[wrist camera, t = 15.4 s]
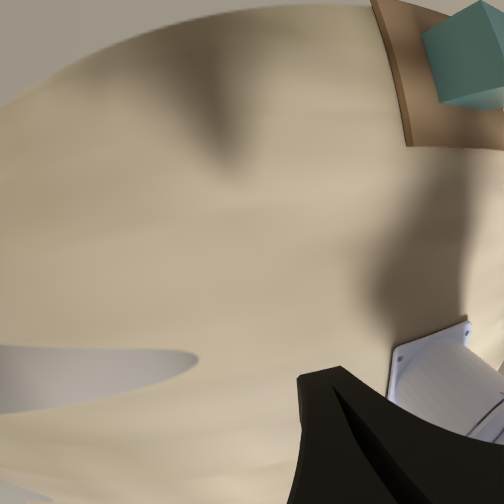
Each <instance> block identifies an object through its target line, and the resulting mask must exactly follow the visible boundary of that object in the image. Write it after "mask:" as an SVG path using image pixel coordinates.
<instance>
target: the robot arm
mask: <svg viewBox="0 0 504 504" xmlns="http://www.w3.org/2000/svg"><path fill="white" fill-rule="evenodd" d="M471 327H472V323H471V322H470V321H465V322H462V323H460V324H457V325H455V326H453V327H450V328H447V329H445V330H442V331H440V332H437V333H434V334H432V335H429V336H426V337H423V338H421V339H418V340H415V341H412V342H409V343H406V344H403V345H400V346H398V347H396V348H395V350H394V352H393V359H392V368H391V376H390V383H389V390H388V396H387V398H385V397H384V396H382V395H381V394H379V393H378V392H376V391H375V390H373V389H372V388H370V387H369V386H368V385H366V384H365V383H363V382H362V381H361V380H359V379H358V378H357V377H355V376H354V375H353V374H351V373H350V372H349V371H347V370H346V369H345V368H343V367H342V366H337V367H333V368H329V369H324V370H320V371H316V372H311V373H307V374H302V375H300V376H299V377H298V378H297V390H298V402H299V415H300V423H301V427H302V433H301V441H300V449H299V456H298V462H297V467H296V471H295V476H294V480H293V484H292V488H291V491H290V495H289V498H288V501H287V504H504V377H503V376H502V375H501V374H499V373H498V372H497V371H496V370H495V369H494V368H492V367H491V366H490V365H489V364H487V363H486V362H485V361H484V360H482V359H481V358H480V357H478V356H477V355H476V354H475V353H473V352H472V351H471V350H470V349H468V348H467V346H468V342H469V337H470V332H471ZM400 356H401V357H400ZM399 357H400V358H399ZM398 358H399V359H398Z"/></svg>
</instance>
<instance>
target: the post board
mask: <svg viewBox="0 0 504 504" xmlns="http://www.w3.org/2000/svg"><path fill="white" fill-rule="evenodd" d="M370 2H371V4H372V7H373V10H374V13H375V15H376V18H377V21H378V24H379V27H380V30H381V33H382V37H383V40H384V43H385V47H386V50H387V54H388V57H389V61H390V65H391V69H392V72H393V77H394V81H395V85H396V90H397V94H398V99H399V104H400V109H401V114H402V120H403V126H404V132H405V138H406V145H407V147H457V148H476V149H490V150H501V151H504V111H503V108H500V109H493V110H488V111H483V110H478V109H473V108H467V107H461V106H455V105H449V104H442V103H439V99H438V94H437V90H436V86H435V81H434V77H433V74H432V70H431V66H430V63H429V59H428V56H427V52H426V49H425V46H424V43H423V40H422V37H421V35H422V34H423V33H425V32H426V31H428V30H430V29H431V28H433V27H434V26H436V25H438V24H439V23H441V22H443V21H444V20H446V19H448V18H449V17H450V16H448V15H445V14H442V13H439V12H436V11H433V10H430V9H427V8H423V7H420V6H417V5H413V4H410V3H406V2H402V1H398V0H370Z"/></svg>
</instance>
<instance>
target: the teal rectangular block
mask: <svg viewBox="0 0 504 504" xmlns="http://www.w3.org/2000/svg"><path fill="white" fill-rule="evenodd" d="M421 37H422V40H423V43H424V46H425V49H426V52H427V56H428V59H429V63H430V66H431V70H432V74H433V77H434V81H435V86H436V90H437V94H438V99H439V103H442V104H449V105H455V106H461V107H467V108H473V109H478V110H483V111H488V110H493V109H500V108H504V13H503V12H501V11H500V10H498V9H496V8H494V7H493V6H491V5H489V4H487V3H485V2H484V1H482V0H479V1H478V2H476V3H474V4H472V5H470V6H468V7H467V8H465V9H463V10H461V11H460V12H458V13H456V14H454V15H453V16H451V17H449V18H448V19H446V20H444V21H443V22H441V23H439V24H438V25H436V26H434V27H433V28H431V29H430V30H428V31H426V32H425V33H423V34H422V35H421Z"/></svg>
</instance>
